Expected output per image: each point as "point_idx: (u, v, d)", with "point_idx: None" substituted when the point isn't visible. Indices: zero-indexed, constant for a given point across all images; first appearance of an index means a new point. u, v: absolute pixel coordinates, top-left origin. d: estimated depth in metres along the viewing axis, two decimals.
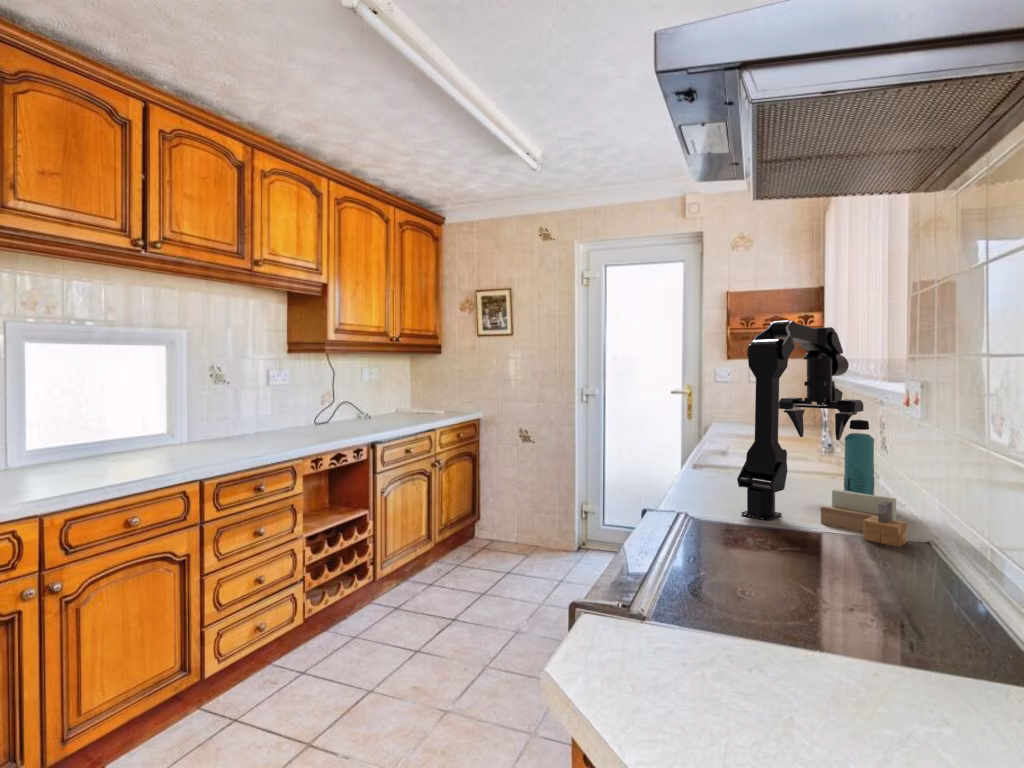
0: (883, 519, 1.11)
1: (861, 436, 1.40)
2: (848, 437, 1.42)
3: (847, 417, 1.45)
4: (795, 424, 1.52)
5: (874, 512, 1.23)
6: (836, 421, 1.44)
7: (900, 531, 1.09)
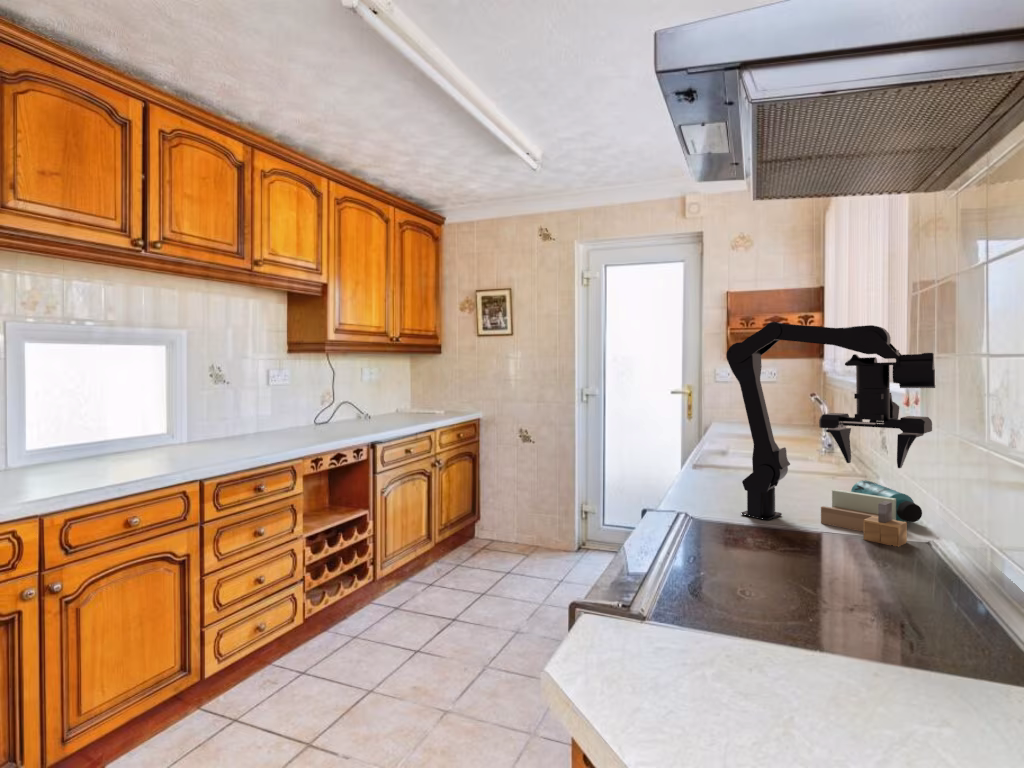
0: (883, 519, 1.11)
1: None
2: None
3: (911, 439, 1.14)
4: (841, 447, 1.21)
5: (874, 512, 1.23)
6: (899, 444, 1.13)
7: (900, 531, 1.09)
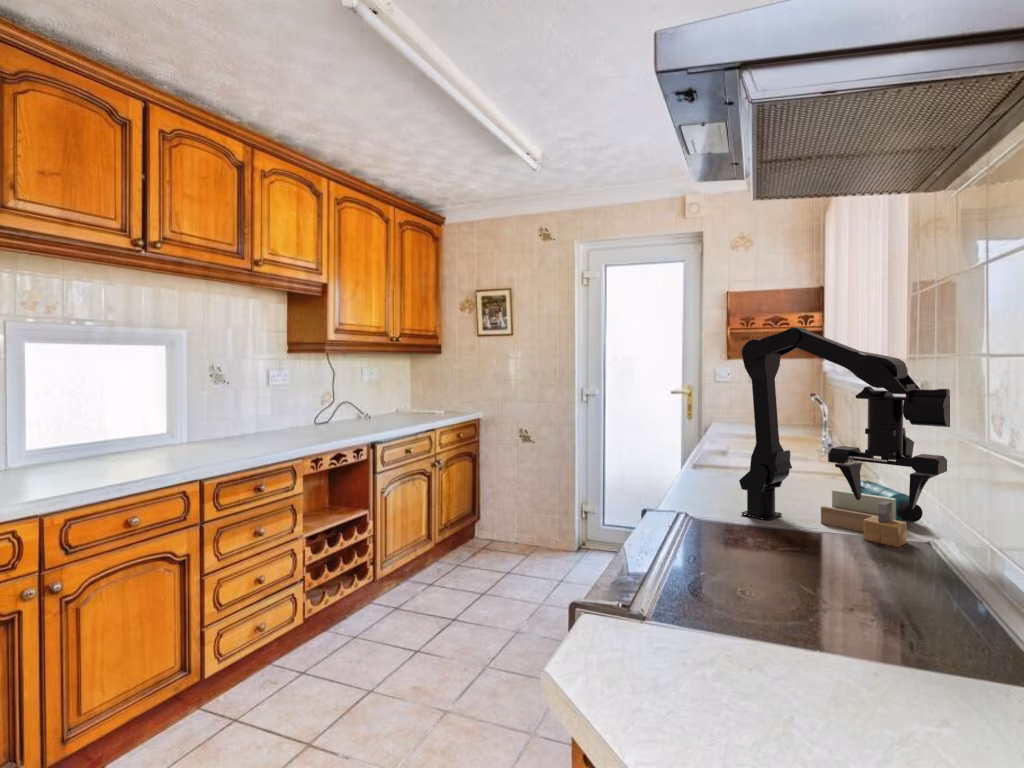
0: (883, 519, 1.11)
1: None
2: None
3: (925, 478, 1.08)
4: (850, 483, 1.15)
5: (874, 512, 1.23)
6: (911, 484, 1.07)
7: (900, 531, 1.09)
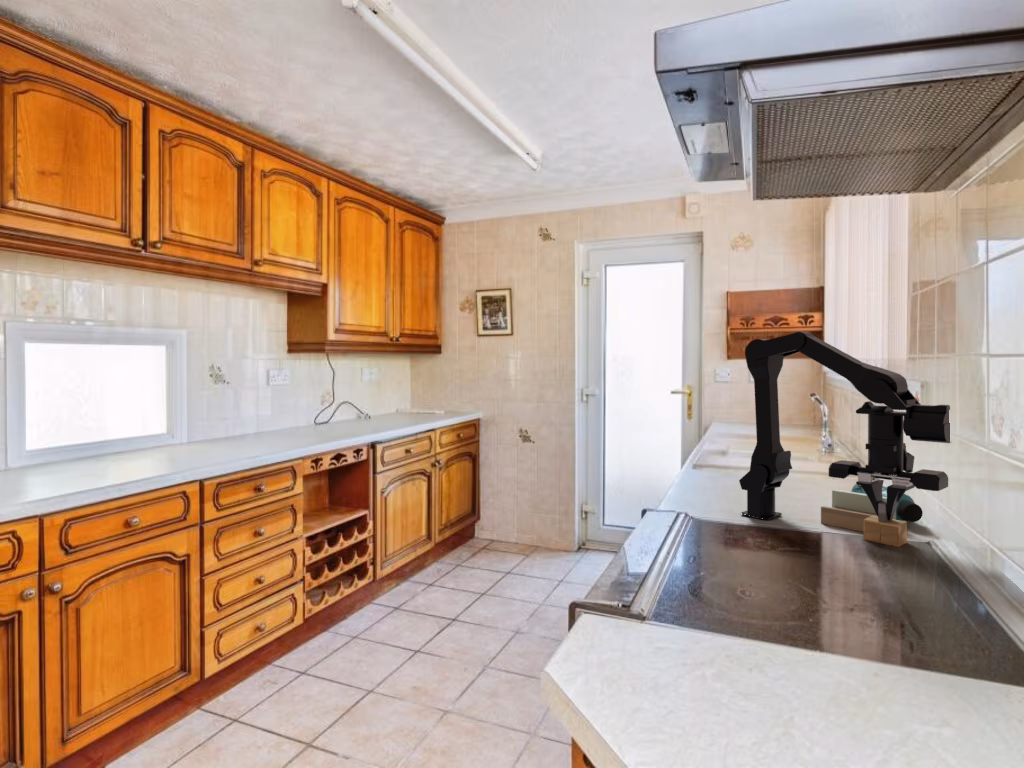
0: (883, 518, 1.11)
1: None
2: None
3: (902, 491, 1.11)
4: (872, 501, 1.12)
5: (874, 512, 1.23)
6: (888, 496, 1.10)
7: (900, 530, 1.09)
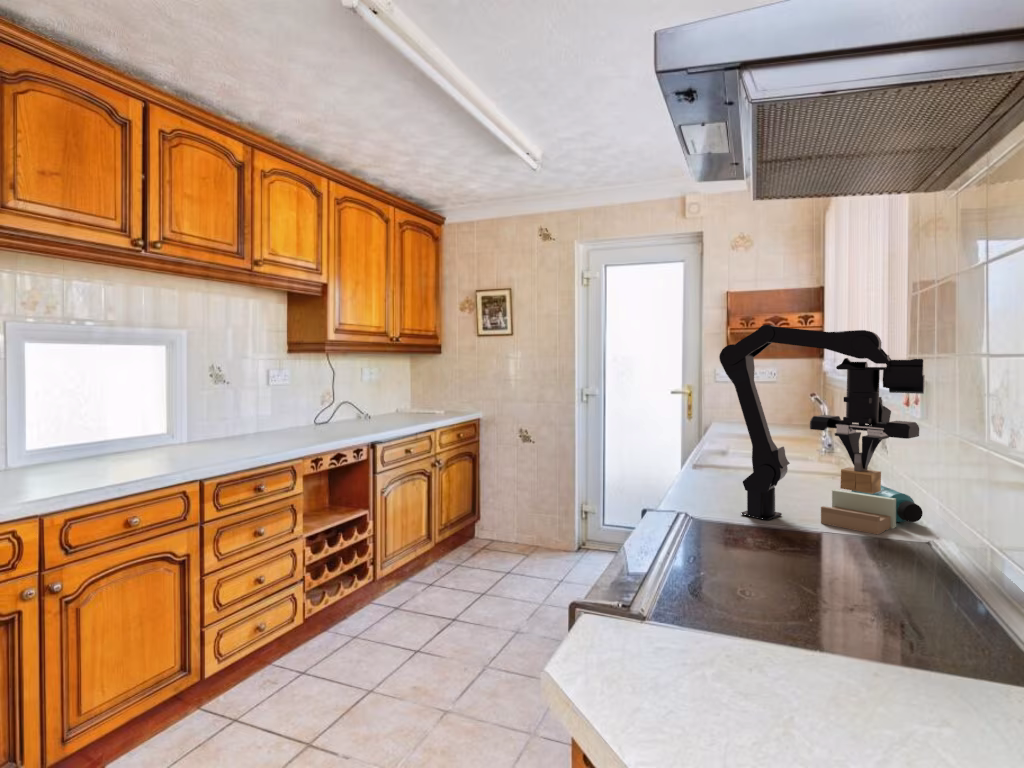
0: (858, 468, 1.19)
1: None
2: None
3: (877, 441, 1.18)
4: (849, 451, 1.20)
5: (874, 512, 1.23)
6: (863, 446, 1.17)
7: (873, 479, 1.17)
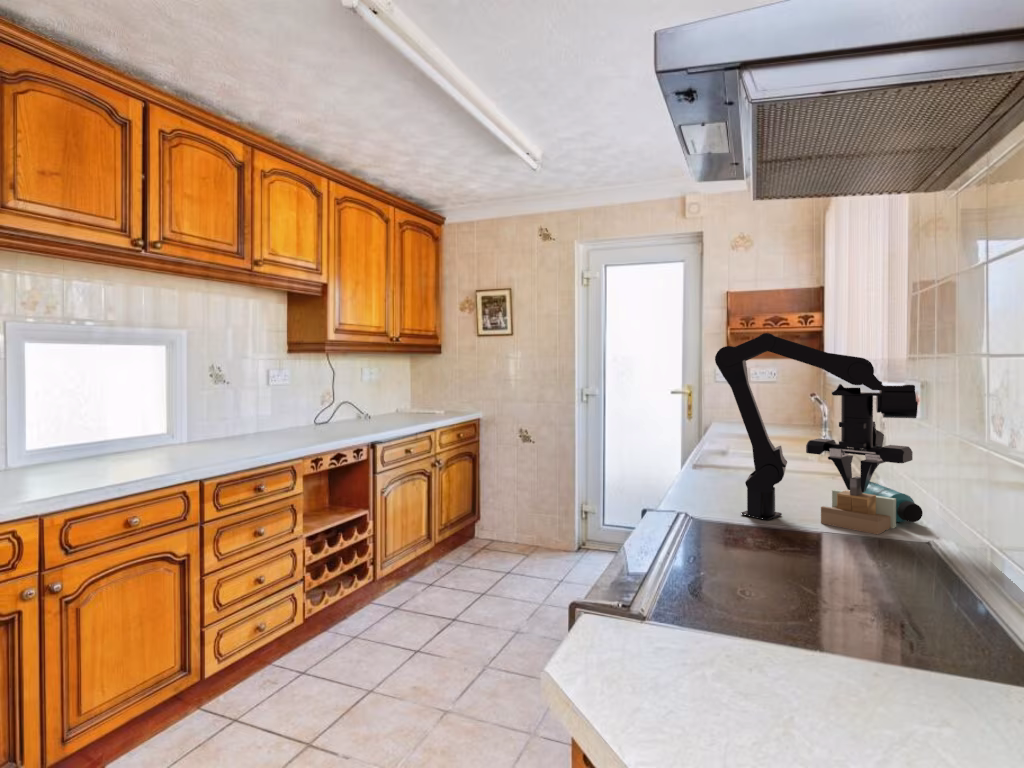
0: (854, 492, 1.22)
1: None
2: None
3: (875, 465, 1.21)
4: (842, 474, 1.24)
5: None
6: (862, 470, 1.20)
7: (869, 503, 1.20)
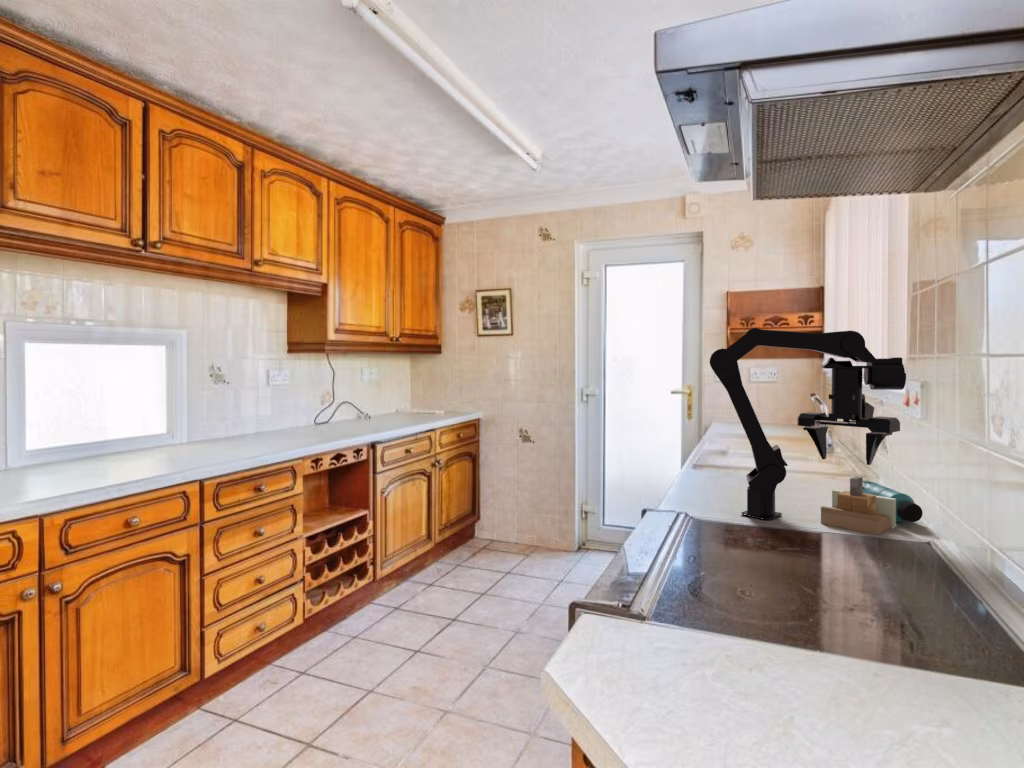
0: (854, 492, 1.22)
1: None
2: None
3: (880, 438, 1.22)
4: (817, 444, 1.29)
5: None
6: (867, 442, 1.21)
7: (869, 503, 1.20)
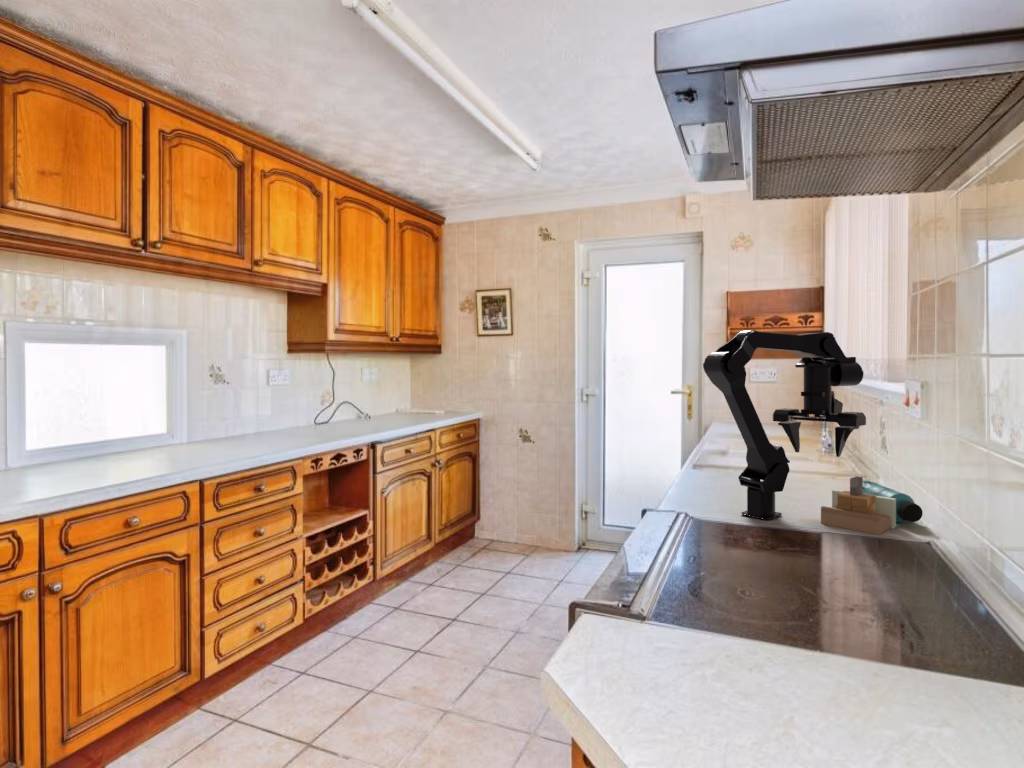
0: (854, 492, 1.22)
1: None
2: None
3: (848, 431, 1.31)
4: (790, 438, 1.39)
5: None
6: (836, 436, 1.30)
7: (869, 503, 1.20)
